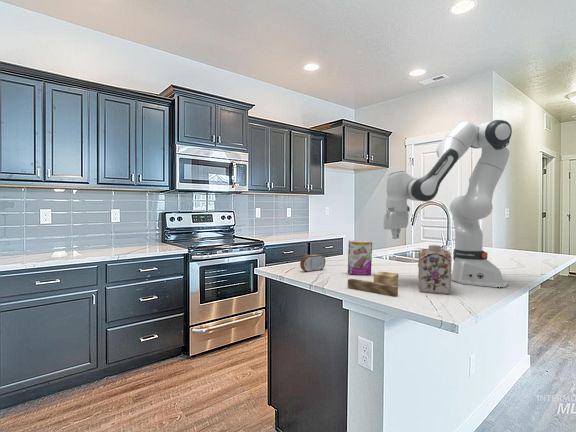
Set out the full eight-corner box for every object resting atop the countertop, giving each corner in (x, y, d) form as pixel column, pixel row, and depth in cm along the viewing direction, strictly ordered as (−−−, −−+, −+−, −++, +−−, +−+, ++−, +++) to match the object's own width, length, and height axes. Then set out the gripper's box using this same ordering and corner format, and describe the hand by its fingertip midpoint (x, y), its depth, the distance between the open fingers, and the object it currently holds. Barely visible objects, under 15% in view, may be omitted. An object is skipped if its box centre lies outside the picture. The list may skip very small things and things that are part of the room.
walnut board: (397, 295, 128) (398, 286, 128) (395, 296, 126) (395, 287, 126) (350, 286, 141) (350, 278, 141) (347, 287, 139) (347, 279, 139)
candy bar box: (348, 275, 164) (348, 241, 164) (347, 272, 169) (348, 240, 169) (371, 275, 163) (372, 241, 163) (370, 273, 168) (370, 240, 168)
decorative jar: (448, 288, 140) (449, 244, 140) (451, 295, 129) (452, 248, 129) (417, 285, 144) (418, 243, 144) (418, 292, 134) (419, 246, 133)
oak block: (398, 285, 145) (398, 273, 145) (392, 288, 139) (392, 276, 139) (379, 282, 150) (380, 271, 150) (373, 286, 143) (373, 274, 143)
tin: (322, 268, 179) (322, 253, 179) (326, 269, 177) (326, 253, 177) (299, 271, 171) (299, 255, 171) (303, 273, 168) (303, 256, 168)
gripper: (394, 207, 141) (393, 241, 141) (411, 207, 157) (410, 237, 157) (380, 207, 145) (379, 239, 145) (397, 207, 161) (397, 236, 161)
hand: (395, 238), depth 151 cm, fingers closed
